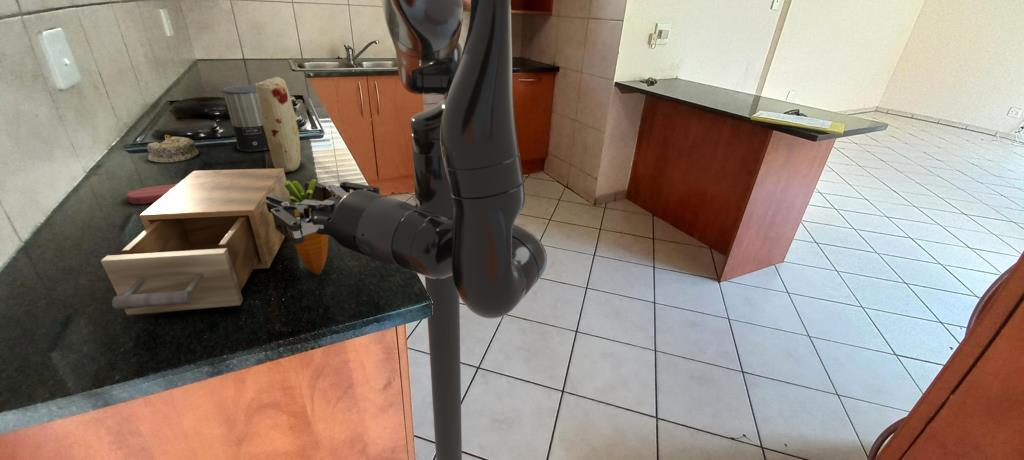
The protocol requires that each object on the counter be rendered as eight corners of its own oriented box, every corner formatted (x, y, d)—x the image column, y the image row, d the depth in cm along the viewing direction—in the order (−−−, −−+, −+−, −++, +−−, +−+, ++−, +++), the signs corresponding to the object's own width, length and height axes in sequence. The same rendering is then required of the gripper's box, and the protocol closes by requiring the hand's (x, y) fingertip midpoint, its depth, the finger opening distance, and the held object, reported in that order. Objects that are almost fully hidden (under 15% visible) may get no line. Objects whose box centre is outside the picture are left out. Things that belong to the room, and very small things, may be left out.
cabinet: (269, 268, 63) (253, 210, 58) (163, 275, 60) (138, 215, 55) (294, 218, 77) (283, 168, 72) (210, 222, 74) (193, 170, 70)
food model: (303, 174, 96) (285, 81, 86) (270, 176, 93) (248, 82, 84) (306, 160, 104) (289, 74, 94) (275, 162, 101) (255, 74, 92)
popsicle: (219, 187, 83) (122, 199, 77) (222, 195, 84) (126, 206, 78) (222, 178, 87) (129, 188, 81) (224, 185, 88) (133, 195, 82)
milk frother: (241, 154, 105) (225, 92, 98) (226, 139, 115) (210, 82, 108) (301, 145, 114) (290, 87, 106) (282, 131, 124) (271, 78, 117)
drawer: (226, 331, 50) (206, 276, 46) (101, 344, 47) (70, 286, 43) (273, 244, 67) (262, 199, 63) (184, 249, 65) (167, 203, 61)
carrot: (337, 263, 65) (321, 171, 58) (334, 282, 61) (316, 184, 53) (302, 267, 63) (280, 172, 56) (296, 286, 59) (272, 187, 52)
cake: (209, 153, 106) (204, 132, 104) (176, 167, 98) (170, 144, 95) (172, 146, 107) (166, 125, 104) (136, 159, 98) (129, 137, 96)
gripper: (420, 180, 54) (328, 154, 61) (328, 223, 43) (228, 186, 50) (423, 231, 58) (335, 202, 65) (339, 283, 47) (244, 241, 54)
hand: (289, 195), depth 57 cm, fingers open, 5 cm apart
